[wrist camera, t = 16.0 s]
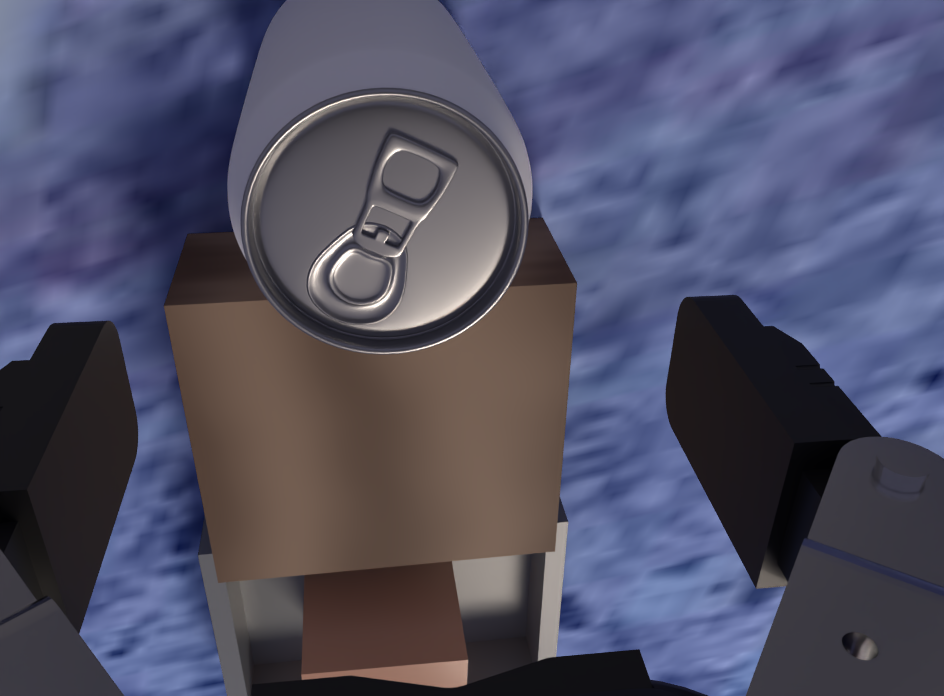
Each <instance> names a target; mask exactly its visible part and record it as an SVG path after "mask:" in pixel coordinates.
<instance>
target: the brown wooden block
mask: <svg viewBox="0 0 944 696" xmlns="http://www.w3.org/2000/svg"><path fill="white" fill-rule="evenodd" d="M576 290H577V282H576V280H575V278H574V276H573V274H572V273H571V271H570V269H569V267H568V265H567V263H566V261H565V259H564V257H563V255H562V254H561V252H560V250H559V248H558V246H557V244H556V242H555V240H554V238H553V236H552V235H551V233H550V231H549V229H548V227H547V225H546V223H545V221H544V219H543V218H530V219H529V225H528V236H527V243H526V247H525V252H524V255H523V258H522V261H521V264H520V267H519V269H518V271H517V274H516V276H515V278H514V280H513V281H512V283H511V285H510V286H509V288H508V290H507V291H506V293H505V294H504V295H503V297H502V298H501V299H500V301H499V302H498V303H497V304H496V305H495V306H494V308H493V309H492V310H491V311H490V312H489V313H488V314H487V315H485V316H484V317H483V318H482V319H481V320H480V321H479V322H477V323H476V324H475V325H473V326H472V327H470V328H469V329H468V330H466V331H464V332H463V333H461V334H459V335H458V336H456V337H454V338H452V339H450V340H448V341H446V342H443V343H441V344H438V345H436V346H433V347H430V348H426V349H423V350H419V351H414V352H409V353H402V354H389V355H378V354H365V353H358V352H352V351H348V350H344V349H340V348H337V347H334V346H331V345H328V344H326V343H323V342H321V341H319V340H317V339H315V338H313V337H311V336H309V335H307V334H306V333H304V332H302V331H301V330H299V329H298V328H296V327H295V326H294V325H292V324H291V323H290V322H289V321H287V320H286V319H285V318H284V317H283V316H282V315H281V314H280V313H279V312H278V311H277V310H276V309H275V308H274V307H273V306H272V305H271V304H270V302H269V301H268V300H267V299H266V297H265V296H264V294H263V293H262V292H261V290H260V288H259V287H258V285H257V283H256V281H255V280H254V278H253V275H252V273H251V271H250V269H249V266H248V263H247V261H246V259H245V257H244V255H243V253H242V251H241V249H240V247H239V245H238V242H237V240H236V237H235V234H234V232H219V233H197V234H187V237H186V240H185V243H184V246H183V250H182V253H181V256H180V259H179V262H178V265H177V268H176V271H175V274H174V277H173V280H172V283H171V286H170V289H169V292H168V295H167V298H166V301H165V304H164V309H165V314H166V319H167V325H168V330H169V335H170V340H171V345H172V350H173V355H174V360H175V365H176V370H177V376H178V381H179V386H180V391H181V396H182V401H183V406H184V411H185V416H186V422H187V427H188V432H189V437H190V442H191V447H192V452H193V457H194V462H195V468H196V473H197V478H198V483H199V488H200V493H201V498H202V503H203V508H204V513H205V519H206V524H207V529H208V534H209V539H210V544H211V549H212V554H213V559H214V565H215V570H216V575H217V580H218V583H224V582H235V581H246V580H256V579H267V578H278V577H288V576H299V575H310V574H320V573H331V572H342V571H352V570H363V569H374V568H384V567H395V566H406V565H416V564H427V563H438V562H448V561H459V560H470V559H480V558H491V557H502V556H512V555H523V554H534V553H544V552H555V546H556V533H557V521H558V509H559V497H560V485H561V473H562V460H563V448H564V436H565V424H566V412H567V399H568V387H569V375H570V363H571V351H572V339H573V326H574V314H575V302H576Z"/></svg>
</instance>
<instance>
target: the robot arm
mask: <svg viewBox="0 0 944 696" xmlns="http://www.w3.org/2000/svg"><path fill="white" fill-rule="evenodd" d="M666 408H667V414H668V419H669V422H670V425H671V427H672V430H673V432H674V433H675V435H676V437H677V439H678V441H679V443H680V445H681V447H682V449H683V451H684V452H685V454H686V456H687V458H688V460H689V462H690V464H691V466H692V468H693V470H694V471H695V473H696V475H697V477H698V479H699V481H700V483H701V485H702V487H703V489H704V490H705V492H706V494H707V496H708V498H709V500H710V502H711V504H712V506H713V508H714V509H715V511H716V513H717V515H718V517H719V519H720V521H721V523H722V525H723V527H724V528H725V530H726V532H727V534H728V536H729V538H730V540H731V542H732V544H733V546H734V547H735V549H736V551H737V553H738V555H739V557H740V559H741V561H742V563H743V565H744V566H745V568H746V570H747V572H748V574H749V576H750V578H751V580H752V582H753V584H754V585H755V587H756V589H757V588H769V587H781V586H786V588H785V591H784V594H783V597H782V599H781V602H780V605H779V607H778V610H777V613H776V616H775V618H774V621H773V624H772V626H771V629H770V632H769V635H768V637H767V640H766V643H765V645H764V648H763V651H762V653H761V656H760V659H759V662H758V664H757V667H756V670H755V672H754V675H753V678H752V681H751V683H750V686H749V689H748V691H747V694H746V696H944V459H943V458H942V457H940V456H939V455H937V454H935V453H934V452H932V451H930V450H928V449H926V448H923V447H921V446H919V445H916V444H913V443H910V442H907V441H903V440H899V439H894V438H888V437H881V436H880V434H879V433H878V432H877V431H876V430H875V429H874V427H873V426H872V425H871V424H870V423H869V422H868V420H867V419H866V418H865V417H864V416H863V414H862V413H861V412H860V411H859V410H858V409H857V407H856V406H855V405H854V404H853V403H852V402H851V400H850V399H849V398H848V397H847V396H846V395H845V393H844V392H843V391H842V390H841V389H840V388H839V386H835V385H834V380H833V379H832V378H831V377H830V376H829V375H828V373H827V372H826V371H825V370H824V369H820V364H819V363H818V362H817V361H816V359H815V358H814V357H813V356H812V355H811V354H810V352H809V351H808V350H807V349H806V348H805V346H804V345H803V344H802V343H800V342H799V341H797V340H795V339H794V338H792V337H790V336H789V335H787V334H785V333H784V332H782V331H780V330H779V329H777V328H775V327H774V326H763V325H762V324H761V323H760V322H759V320H758V319H757V318H756V317H755V315H754V314H753V313H752V312H751V310H750V309H749V308H748V307H747V305H746V304H745V303H744V302H743V301H742V299H741V298H740V297H739V296H737V295H722V296H699V297H686V298H684V299H683V301H682V302H681V304H680V307H679V311H678V316H677V322H676V328H675V334H674V340H673V347H672V353H671V359H670V365H669V372H668V378H667V384H666ZM137 447H138V424H137V416H136V411H135V406H134V402H133V397H132V393H131V388H130V384H129V380H128V375H127V371H126V366H125V362H124V357H123V353H122V348H121V344H120V339H119V335H118V332H117V329H116V327H115V325H114V324H113V323H112V322H111V321H93V322H70V323H53V324H51V325H50V326H49V328H48V329H47V331H46V333H45V335H44V336H43V338H42V340H41V342H40V343H39V345H38V347H37V349H36V350H35V352H34V354H33V356H32V357H31V359H30V360H23V361H12V362H10V363H9V364H8V365H6V366H5V367H4V368H2V369H1V370H0V696H124V695H123V694H122V692H121V691H120V689H119V688H118V687H117V685H116V684H115V683H114V681H113V680H112V679H111V677H110V676H109V674H108V673H107V672H106V670H105V669H104V668H103V666H102V665H101V664H100V662H99V661H98V659H97V658H96V657H95V655H94V654H93V653H92V651H91V650H90V649H89V647H88V646H87V644H86V643H85V642H84V640H83V639H82V638H81V636H80V635H79V632H80V629H81V626H82V623H83V620H84V617H85V614H86V611H87V608H88V604H89V601H90V598H91V595H92V592H93V589H94V586H95V583H96V580H97V577H98V573H99V570H100V567H101V564H102V561H103V558H104V555H105V552H106V549H107V546H108V542H109V539H110V536H111V533H112V530H113V527H114V524H115V521H116V518H117V515H118V511H119V508H120V505H121V502H122V499H123V496H124V493H125V490H126V487H127V484H128V480H129V477H130V474H131V471H132V468H133V465H134V462H135V458H136V454H137ZM251 696H707V695H705V694H702V693H699V692H697V691H694V690H691V689H688V688H685V687H682V686H678V685H674V684H670V683H665V682H661V681H655V680H650V678H649V676H648V673H647V670H646V667H645V664H644V661H643V658H642V656H641V653H640V650H628V651H617V652H605V653H594V654H583V655H572V656H561V657H550V658H545V659H542V660H539V661H536V662H533V663H530V664H527V665H524V666H521V667H518V668H515V669H512V670H509V671H506V672H503V673H500V674H497V675H494V676H491V677H488V678H485V679H482V680H479V681H476V682H473V683H470V684H467V685H464V686H460V687H454V688H443V687H435V686H427V685H420V684H412V683H405V682H397V681H389V680H382V679H374V678H367V677H359V676H352V675H350V676H339V677H328V678H317V679H305V680H294V681H283V682H272V683H261V684H252V690H251Z"/></svg>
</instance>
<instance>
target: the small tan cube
mask: <svg viewBox="0 0 944 696" xmlns="http://www.w3.org/2000/svg"><path fill="white" fill-rule="evenodd" d="M467 672H468V656H467V650H466V644H465V638H464V632H463V626H462V619H461V613H460V607H459V601H458V595H457V589H456V583H455V577H454V571H453V565H452V561H448V562H438V563H427V564H416V565H406V566H395V567H384V568H374V569H363V570H352V571H342V572H331V573H320V574H310V575H304V606H303V638H302V671H301V676H302V680H305V679H317V678H328V677H339V676H350V675H352V676H359V677H367V678H374V679H382V680H389V681H397V682H405V683H412V684H420V685H427V686H435V687H443V688H454V687H460V686H464V685H467Z"/></svg>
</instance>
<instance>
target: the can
mask: <svg viewBox="0 0 944 696" xmlns="http://www.w3.org/2000/svg"><path fill="white" fill-rule="evenodd" d="M227 193H228V207H229V214H230V219H231V224H232V228H233V231H234V234H235V237H236V240H237V242H238V245H239V247H240V249H241V251H242V253H243V255H244V257H245V259H246V261H247V263H248V266H249V269H250V271H251V273H252V275H253V278H254V280H255V281H256V283H257V285H258V287H259V288H260V290H261V292H262V293H263V294H264V296H265V297H266V299H267V300H268V301H269V302H270V304H271V305H272V306H273V307H274V308H275V309H276V310H277V311H278V312H279V313H280V314H281V315H282V316H283V317H284V318H285V319H286V320H287V321H289V322H290V323H291V324H292V325H294V326H295V327H296V328H298V329H299V330H301V331H302V332H304V333H306V334H307V335H309V336H311V337H313V338H315V339H317V340H319V341H321V342H323V343H326V344H328V345H331V346H334V347H337V348H340V349H344V350H348V351H352V352H358V353H365V354H378V355H389V354H402V353H409V352H414V351H419V350H423V349H426V348H430V347H433V346H436V345H438V344H441V343H443V342H446V341H448V340H450V339H452V338H454V337H456V336H458V335H459V334H461V333H463V332H464V331H466V330H468V329H469V328H470V327H472V326H473V325H475V324H476V323H477V322H479V321H480V320H481V319H482V318H483V317H484V316H485V315H487V314H488V313H489V312H490V311H491V310H492V309H493V308H494V306H495V305H496V304H497V303H498V302H499V301H500V299H501V298H502V297H503V295H504V294H505V293H506V291H507V290H508V288H509V286H510V285H511V283H512V281H513V280H514V278H515V276H516V274H517V271H518V269H519V267H520V264H521V261H522V258H523V255H524V252H525V247H526V243H527V236H528V225H529V219H530V214H531V207H532V175H531V168H530V163H529V158H528V154H527V150H526V147H525V144H524V141H523V138H522V135H521V133H520V131H519V129H518V127H517V125H516V122H515V120H514V118H513V116H512V114H511V113H510V111H509V109H508V107H507V106H506V104H505V102H504V100H503V99H502V97H501V95H500V93H499V92H498V90H497V88H496V87H495V85H494V83H493V82H492V80H491V78H490V77H489V75H488V73H487V72H486V70H485V68H484V67H483V65H482V64H481V62H480V60H479V59H478V57H477V55H476V54H475V52H474V50H473V49H472V47H471V46H470V44H469V42H468V41H467V39H466V38H465V36H464V34H463V33H462V31H461V30H460V28H459V27H458V25H457V24H456V22H455V21H454V19H453V18H452V16H451V15H450V14H449V12H448V11H447V10H446V8H445V7H444V6H443V5H442V4H441V3H440V2H439V1H438V0H286V1H285V2H284V4H283V5H282V6H281V7H280V8H279V10H278V11H277V13H276V14H275V16H274V17H273V19H272V21H271V22H270V24H269V26H268V29H267V31H266V33H265V36H264V38H263V41H262V44H261V47H260V50H259V53H258V57H257V60H256V63H255V67H254V70H253V74H252V77H251V80H250V84H249V87H248V91H247V95H246V98H245V102H244V105H243V109H242V112H241V116H240V120H239V123H238V127H237V131H236V135H235V139H234V143H233V147H232V152H231V157H230V163H229V169H228V180H227Z"/></svg>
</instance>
